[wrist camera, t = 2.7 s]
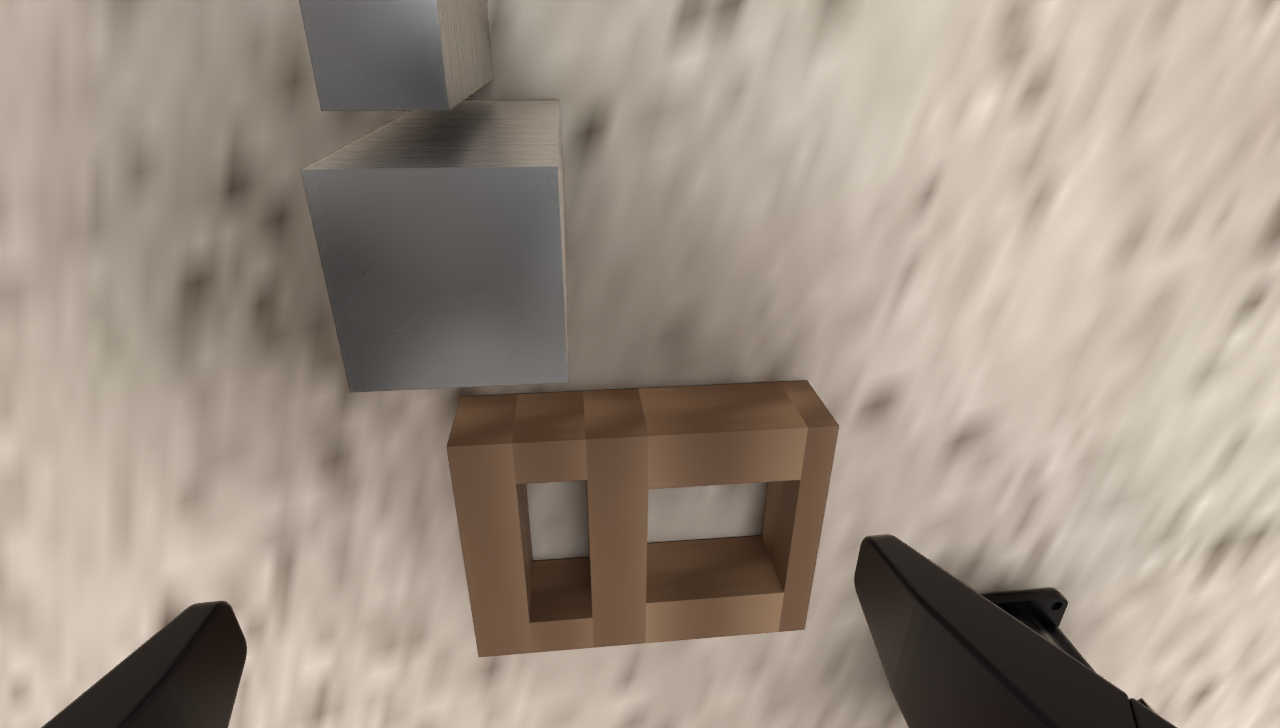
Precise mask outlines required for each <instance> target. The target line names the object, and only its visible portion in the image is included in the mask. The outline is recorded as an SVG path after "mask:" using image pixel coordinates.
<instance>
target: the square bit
mask: <svg viewBox="0 0 1280 728" xmlns="http://www.w3.org/2000/svg"><path fill="white" fill-rule="evenodd" d="M301 173H302V178H303V182H304V187H305V191H306V196H307V200H308V205H309V209H310V214H311V218H312V223H313V227H314V232H315V236H316V241H317V245H318V250H319V254H320V259H321V263H322V268H323V272H324V277H325V281H326V286H327V290H328V295H329V299H330V304H331V308H332V313H333V317H334V322H335V326H336V331H337V335H338V340H339V344H340V349H341V353H342V358H343V362H344V367H345V371H346V376H347V380H348V385H349V389H350V392H368V391H390V390H413V389H435V388H457V387H479V386H501V385H523V384H545V383H567V382H568V344H567V295H566V246H565V213H564V191H563V169H562V147H561V126H560V104H559V100H463V101H461V102H460V103H459V104H457V105H456V106H454V107H453V108H452V109H450V110H411V111H410V112H408V113H406V114H404V115H402V116H400V117H398V118H396V119H395V120H393V121H391V122H389V123H387V124H385V125H383V126H382V127H380V128H378V129H376V130H374V131H372V132H370V133H368V134H367V135H365V136H363V137H361V138H359V139H357V140H355V141H353V142H352V143H350V144H348V145H346V146H344V147H342V148H340V149H339V150H337V151H335V152H333V153H331V154H329V155H327V156H325V157H324V158H322V159H320V160H318V161H316V162H314V163H312V164H310V165H309V166H307V167H305V168H303V169H301Z"/></svg>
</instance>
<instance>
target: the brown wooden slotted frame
mask: <svg viewBox="0 0 1280 728" xmlns="http://www.w3.org/2000/svg"><path fill="white" fill-rule="evenodd" d="M838 429H839V425H838V424H837V422H836V421H835V419H834V418H833V417H832V415H831V414H830V412H829V411H828V410H827V408H826V407H825V405H824V404H823V402H822V401H821V400H820V398H819V397H818V395H817V394H816V392H815V391H814V390H813V388H812V387H811V385H810V384H809V382H808V381H787V382H765V383H744V384H722V385H701V386H679V387H658V388H636V389H615V390H593V391H571V392H550V393H528V394H507V395H485V396H464V397H460V400H459V404H458V407H457V411H456V415H455V418H454V422H453V426H452V429H451V433H450V436H449V440H448V444H447V453H448V460H449V466H450V473H451V479H452V486H453V492H454V499H455V505H456V512H457V519H458V525H459V532H460V538H461V545H462V551H463V558H464V564H465V571H466V577H467V584H468V591H469V597H470V604H471V610H472V617H473V623H474V630H475V636H476V643H477V650H478V656H479V657H487V656H499V655H511V654H523V653H534V652H546V651H558V650H570V649H582V648H593V647H605V646H617V645H629V644H641V643H652V642H664V641H676V640H688V639H700V638H711V637H723V636H735V635H747V634H759V633H770V632H782V631H794V630H805V624H806V618H807V612H808V606H809V600H810V594H811V588H812V582H813V577H814V571H815V565H816V559H817V553H818V547H819V541H820V535H821V529H822V524H823V518H824V512H825V506H826V500H827V494H828V488H829V482H830V476H831V470H832V465H833V459H834V453H835V447H836V441H837V435H838ZM578 480H586V483H587V510H588V536H589V557H587V558H573V559H559V560H545V561H533V558H532V547H531V536H530V524H529V513H528V502H527V491H526V484H528V483H545V482H562V481H578ZM756 482H768V485H767V494H766V502H765V511H764V520H763V528H762V536H748V537H734V538H720V539H705V540H691V541H677V542H662V543H648V544H647V511H648V489H658V488H675V487H691V486H707V485H723V484H740V483H756Z"/></svg>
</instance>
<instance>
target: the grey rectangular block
mask: <svg viewBox="0 0 1280 728" xmlns="http://www.w3.org/2000/svg"><path fill="white" fill-rule="evenodd" d="M299 2H300V7H301V12H302V17H303V22H304V27H305V32H306V37H307V42H308V47H309V52H310V57H311V62H312V67H313V72H314V77H315V82H316V87H317V92H318V97H319V102H320V107H321V111H409V110H450V109H452V108H453V107H454V106H456V105H457V104H459V103H460V102H461V101H463V100H464V99H466V98H467V97H468V96H470V95H471V94H473V93H474V92H475V91H477V90H478V89H479V88H481V87H482V86H484V85H485V84H486V83H488V82H489V81H491V80H492V79H493V68H492V56H491V45H490V33H489V22H488V10H487V0H299Z"/></svg>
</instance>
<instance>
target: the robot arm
mask: <svg viewBox="0 0 1280 728" xmlns="http://www.w3.org/2000/svg"><path fill="white" fill-rule="evenodd" d="M854 582H855V588H856V592H857V595H858V598H859V601H860V604H861V606H862V609H863V612H864V615H865V618H866V621H867V623H868V626H869V629H870V632H871V635H872V638H873V640H874V643H875V646H876V649H877V652H878V655H879V658H880V660H881V663H882V666H883V669H884V672H885V674H886V677H887V680H888V682H889V685H890V688H891V690H892V692H893V694H894V697H895V699H896V701H897V703H898V706H899V708H900V710H901V712H902V714H903V716H904V718H905V720H906V723H907V725H908V727H909V728H1177V727H1175V726H1174V725H1172V724H1171V723H1169V722H1168V721H1166V720H1165V719H1163V718H1162V717H1160V716H1159V715H1158V714H1157V713H1156V712H1155V711H1154V710H1153V709H1152V708H1151V707H1150V706H1149V705H1148V704H1147V703H1146V702H1145V701H1144V700H1143V699H1142V698H1141V699H1139V700H1135V699H1133V698H1130V699H1129V698H1128V696H1127V694H1126V693H1125V692H1123V691H1122V690H1120V689H1119V688H1117V687H1116V686H1114V685H1113V684H1111V683H1110V682H1108V681H1107V680H1105V679H1104V678H1103V677H1101V676H1100V675H1098V674H1097V673H1096V672H1095V671H1094V670H1093V669H1092V667H1091V666H1090V665H1089V664H1088V663H1087V661H1086V660H1085V659H1084V658H1083V657H1082V655H1081V654H1080V653H1079V652H1078V651H1077V649H1076V648H1075V647H1074V646H1073V645H1072V643H1071V642H1070V641H1069V640H1068V639H1067V637H1066V636H1065V635H1064V634H1063V633H1062V631H1061V630H1060V629H1059V628H1058V626H1059V624H1060V622H1061V619H1062V617H1063V614H1064V612H1065V610H1066V607H1067V604H1068V602H1067V600H1066V598H1065V597H1064V596H1063V595H1062V594H1061V593H1060V592H1058V591H1049V592H1037V593H1025V594H1013V595H1001V596H988V597H983V596H982V595H980V594H979V593H977V592H976V591H974V590H973V589H971V588H970V587H969V586H967V585H966V584H964V583H963V582H961V581H960V580H958V579H957V578H955V577H954V576H952V575H951V574H949V573H948V572H946V571H945V570H944V569H942V568H941V567H939V566H938V565H936V564H935V563H933V562H932V561H930V560H929V559H927V558H926V557H924V556H923V555H921V554H920V553H918V552H917V551H916V550H914V549H913V548H911V547H910V546H908V545H907V544H905V543H904V542H902V541H901V540H899V539H898V538H896V537H895V536H892V535H889V534H885V535H875V536H867V537H865V538H864V539H863V541H862V543H861V547H860V552H859V556H858V561H857V566H856V571H855V577H854ZM246 654H247V645H246V640H245V637H244V635H243V633H242V630H241V628H240V626H239V623H238V621H237V619H236V616H235V614H234V612H233V609H232V607H231V606H230V604H228V603H227V602H226V601H215V602H205V603H197V604H193V605H191V606H190V607H188V608H187V609H185V610H184V611H183V612H182V613H180V614H179V615H178V616H177V617H176V618H174V619H173V620H172V621H171V622H170V623H168V624H167V625H166V626H165V627H163V628H162V629H161V630H160V631H159V632H157V633H156V634H155V635H154V636H152V637H151V638H150V639H149V640H148V641H146V642H145V643H144V644H143V645H141V646H140V647H139V648H138V649H137V650H135V651H134V652H133V653H132V654H131V655H129V656H128V657H127V658H126V659H124V660H123V661H122V662H121V663H120V664H118V665H117V666H116V667H115V668H113V669H112V670H111V671H110V672H109V673H107V674H106V675H105V676H104V677H103V678H101V679H100V680H99V681H98V682H96V683H95V684H94V685H93V686H92V687H90V688H89V689H88V690H87V691H85V692H84V693H83V694H82V695H81V696H79V697H78V698H77V699H76V700H75V701H73V702H72V703H71V704H70V705H68V706H67V707H66V708H65V709H64V710H62V711H61V712H60V713H59V714H57V715H56V716H55V717H54V718H53V719H51V720H50V721H49V722H48V723H46V724H45V725H44V726H43V727H42V728H228V726H229V722H230V718H231V714H232V710H233V706H234V703H235V699H236V695H237V691H238V687H239V683H240V680H241V676H242V672H243V668H244V664H245V660H246Z"/></svg>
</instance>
